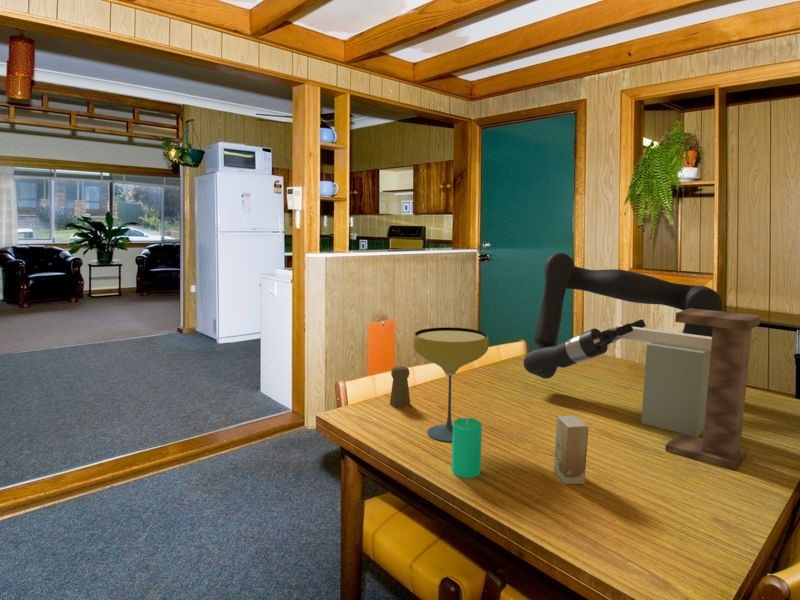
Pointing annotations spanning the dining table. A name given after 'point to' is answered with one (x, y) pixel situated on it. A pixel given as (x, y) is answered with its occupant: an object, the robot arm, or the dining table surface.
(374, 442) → the dining table surface
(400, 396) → the pepper mill
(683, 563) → the dining table surface
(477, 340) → the cocktail glass
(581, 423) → the skincare box
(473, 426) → the candle
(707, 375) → the pale grey-green block
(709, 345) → the cream bar
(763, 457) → the dining table surface
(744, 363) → the walnut stand
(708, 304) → the robot arm
